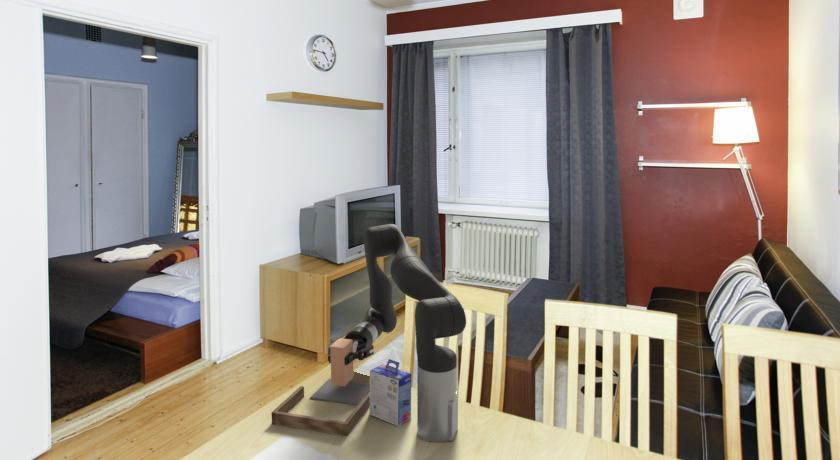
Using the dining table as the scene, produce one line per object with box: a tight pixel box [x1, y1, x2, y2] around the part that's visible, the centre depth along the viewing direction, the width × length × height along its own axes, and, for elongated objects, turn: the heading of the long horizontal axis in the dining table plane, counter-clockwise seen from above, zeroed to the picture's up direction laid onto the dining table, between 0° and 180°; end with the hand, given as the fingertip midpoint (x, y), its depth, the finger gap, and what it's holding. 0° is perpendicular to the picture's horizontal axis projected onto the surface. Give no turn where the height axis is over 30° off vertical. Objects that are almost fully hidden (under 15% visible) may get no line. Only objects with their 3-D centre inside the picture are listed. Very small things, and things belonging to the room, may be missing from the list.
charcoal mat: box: [309, 378, 370, 407], centre depth 154 cm, size 14×12×1 cm
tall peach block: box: [330, 338, 355, 386], centre depth 152 cm, size 4×6×11 cm, turn 164°
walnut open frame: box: [270, 385, 370, 437], centre depth 141 cm, size 20×15×3 cm
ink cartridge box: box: [369, 358, 412, 427], centre depth 140 cm, size 10×6×14 cm, turn 53°
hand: (337, 360), depth 150 cm, fingers closed on tall peach block, 4 cm apart
